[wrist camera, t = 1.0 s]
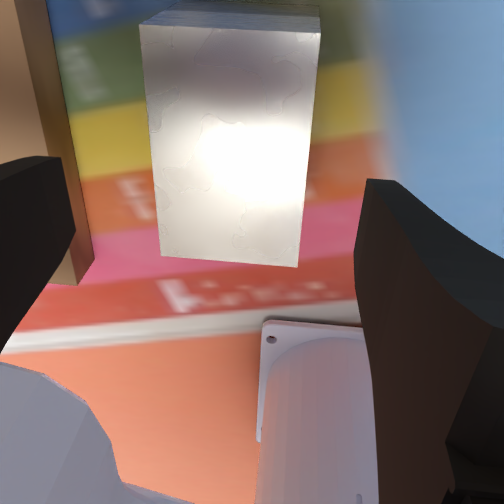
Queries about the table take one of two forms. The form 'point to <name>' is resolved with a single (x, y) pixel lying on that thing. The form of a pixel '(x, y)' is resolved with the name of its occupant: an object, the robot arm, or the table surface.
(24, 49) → the walnut stand
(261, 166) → the block
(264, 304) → the table surface
